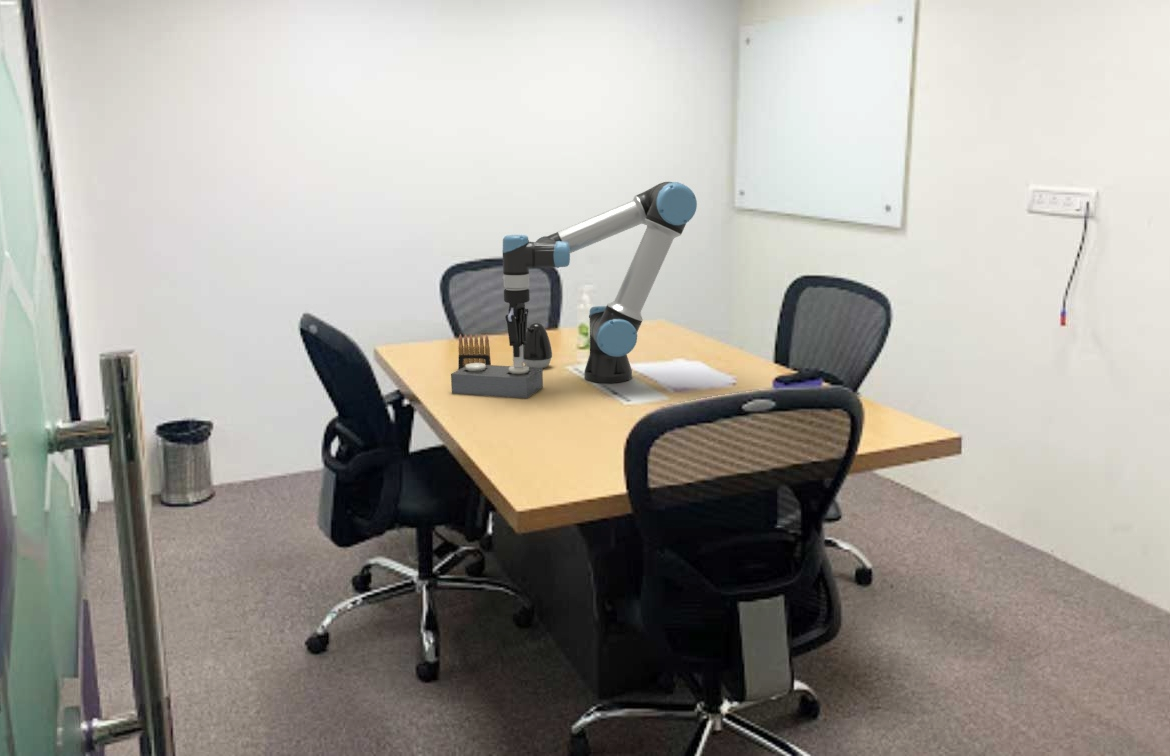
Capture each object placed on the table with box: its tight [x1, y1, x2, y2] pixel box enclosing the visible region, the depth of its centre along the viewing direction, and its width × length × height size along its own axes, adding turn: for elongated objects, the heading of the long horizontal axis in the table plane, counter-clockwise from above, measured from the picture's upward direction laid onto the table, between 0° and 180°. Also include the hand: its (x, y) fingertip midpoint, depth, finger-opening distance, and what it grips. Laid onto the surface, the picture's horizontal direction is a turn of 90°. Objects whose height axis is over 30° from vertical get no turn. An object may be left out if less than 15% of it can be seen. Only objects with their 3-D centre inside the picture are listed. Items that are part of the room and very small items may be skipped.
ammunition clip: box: [457, 333, 492, 370], centre depth 310 cm, size 11×2×12 cm, turn 85°
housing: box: [450, 364, 544, 399], centre depth 283 cm, size 24×14×6 cm, turn 73°
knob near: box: [509, 365, 529, 375], centre depth 281 cm, size 6×6×7 cm
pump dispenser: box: [523, 322, 553, 369], centre depth 311 cm, size 10×10×15 cm
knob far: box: [466, 362, 486, 372], centre depth 285 cm, size 6×6×7 cm
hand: (518, 366), depth 280 cm, fingers closed
